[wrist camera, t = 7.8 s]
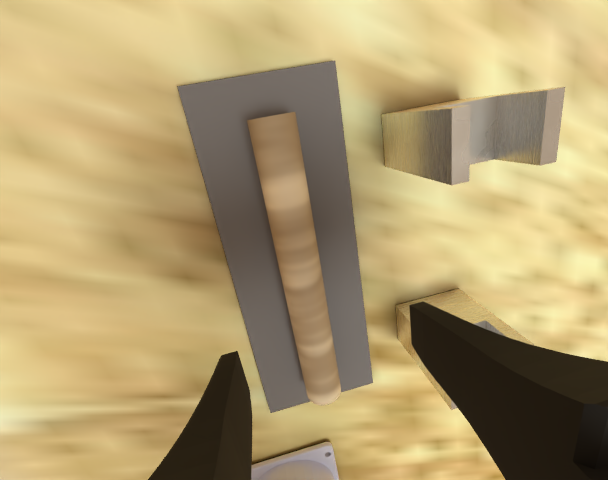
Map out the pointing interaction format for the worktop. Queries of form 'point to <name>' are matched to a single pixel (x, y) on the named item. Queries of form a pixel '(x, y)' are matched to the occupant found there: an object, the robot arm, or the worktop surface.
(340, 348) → the mat
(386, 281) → the worktop surface
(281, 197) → the rail
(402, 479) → the worktop surface
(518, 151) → the hook stands
